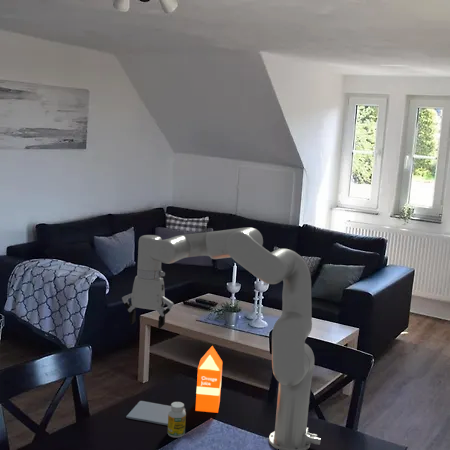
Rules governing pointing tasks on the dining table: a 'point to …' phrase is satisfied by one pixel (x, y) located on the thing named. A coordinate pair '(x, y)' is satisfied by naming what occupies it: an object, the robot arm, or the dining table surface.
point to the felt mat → (150, 412)
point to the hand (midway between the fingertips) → (146, 324)
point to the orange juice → (209, 382)
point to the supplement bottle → (176, 420)
